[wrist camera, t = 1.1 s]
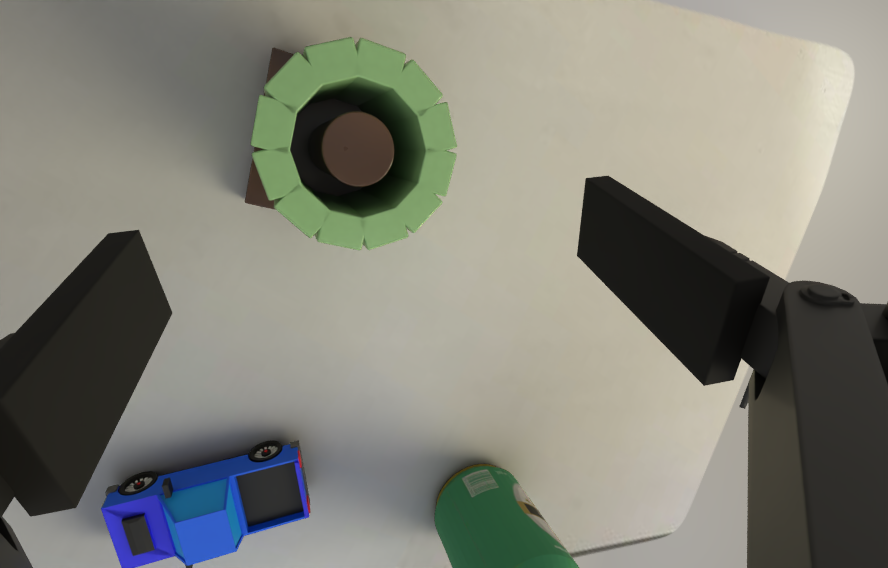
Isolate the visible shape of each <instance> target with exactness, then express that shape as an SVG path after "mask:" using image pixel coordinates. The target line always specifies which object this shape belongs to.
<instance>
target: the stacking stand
mask: <svg viewBox="0 0 888 568" xmlns="http://www.w3.org/2000/svg"><path fill="white" fill-rule="evenodd" d="M293 55H294V54H291V53H288V52H285V51H282V50H279V49H276V48H272V54H271V59H270V65H269V70H268V76H267V81H266V84H267V83H268V82H269V80H270V79H271V78H272V77H273V76H274V75H275V74H276V73H277V72H278V71H279V70H280V69H281V68H282V67H283V66H284V65H285V64H286V62H287V61H288V60H289V59H290V58H291V57H292V56H293ZM264 96H265V93H264ZM260 150H263V149H262V148H258V147H255V148H254V152H256V151H260ZM290 151H291V154H292V157H293V159H294V162H295V165H296V168H297V171H298V174H299V177H300V178H301V179H302V180H303V181H304V182H305V183H306V184H307V185H308V186H309V187H311V188H312V189H313V190H314V191H318V192H323V193H327V194H331V195H335V196H340V195H343V194H346V193H350V192H353V191H357V190H360V189H361V188H362V187H364V186H369V185H372V184H374V183H376V182H378V181H379V180H381V179H382V178H383V177H384V176H385V175H386V174H387V173H388V171H389V169H390V168H391V165H392V163H393V159H394V143H393V139H392V136H391V134H390V132H389V130H388V128H387V127H386V126H385V125H384V123H383V122H382V121H380V120H379V119H378V118H377V117H375V116H373V115H371V114H369V113H365V112H362V111H361V110H360V109H359V107H358V106H355V105H352V104H349V103H346V102H343V101H339V100H336V99H333V98H332V99H328V100H324V101H320V102H316V103H312V104H308V105H307V106H306V107H305V108H304V109H303V110H302V111H301V112H300V114H299V115H298V116H297V117H296V121H295V127H294V132H293V137H292V142H291V147H290ZM245 203H248V204H252V205H257V206H262V207H266V208H271V209H275V208H274V200H269V199H268V197H267V194H266V192H265V189H264V186H263V184H262V181H261V178H260V176H259V173H258V170H257V168H256V165H255V162H254V160H253V159H252V165H251V170H250V176H249V181H248V187H247V193H246V198H245ZM275 210H276V209H275Z"/></svg>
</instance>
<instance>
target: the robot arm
mask: <svg viewBox="0 0 888 568" xmlns="http://www.w3.org/2000/svg"><path fill="white" fill-rule="evenodd" d="M577 256H578V257H579V258H580V259H581V260H582V261H583V262H584V263H585V264H586V265H587V266H588V267H589V268H590V269H591V270H592V271H593V272H594V273H595V275H596V276H597V277H598V278H599V279H600V280H601V281H602V282H603V283H604V284H605V285H606V286H607V287H608V288H609V289H610V290H611V291H612V292H613V293H614V294H615V295H616V296H617V297H618V298H619V299H620V300H621V301H622V302H623V303H624V304H625V305H626V306H627V307H628V308H629V309H630V310H631V311H632V312H633V313H634V314H635V315H636V316H637V318H638V319H639V320H640V321H641V322H642V323H643V324H644V325H645V326H646V327H647V328H648V329H649V330H650V331H651V332H652V333H653V334H654V335H655V336H656V337H657V338H658V339H659V340H660V341H661V342H662V343H663V344H664V345H665V346H666V347H667V348H668V349H669V350H670V351H671V352H672V353H673V354H674V355H675V356H676V357H677V358H678V359H679V361H680V362H681V363H682V364H683V365H684V366H685V367H686V368H687V369H688V370H689V371H690V372H691V373H692V374H693V375H694V376H695V377H696V378H697V379H698V380H699V381H700V382H701V383H702V384H703V385H704V386H705V385H710V384H715V383H720V382H725V381H730V380H734V377H735V375H736V372H737V369H738V366H739V363H740V361H741V358H742V359H743V360H744V361H745V362H746V363H747V364H749V365H750V366H751V367H752V368H753V369H754V370H753V373H752V375H751V378H750V380H749V383H748V386H747V388H746V391H745V394H744V396H743V399H742V402H741V404H740V407H741V408H744V409H745V407H746V405H747V403H749V412H748V413H749V414H748V416H749V417H748V528H747V529H748V531H747V568H888V303H887V304H862V303H859V301H858V300H857V299H856V297H854V296H853V295H851V294H850V293H848V292H847V291H845V290H842V289H840V288H837V287H835V286H832V285H828V284H824V283H820V282H813V281H796V282H791V283H788V282H787V281H785V280H784V279H782V278H780V277H779V276H777V275H775V274H774V273H772V272H770V271H769V270H767V269H766V268H764V267H762V266H761V265H759V264H757V263H756V262H754V261H750V260H749V258H748V257H746V256H744V255H743V254H741V253H737V251H736V250H735V249H733V248H731V247H730V246H728V245H726V244H725V243H723V242H721V241H718V240H715V239H713V238H710V237H707V236H704V235H702V234H701V233H699V232H697V231H696V230H694V229H693V228H691V227H689V226H688V225H686V224H685V223H683V222H681V221H680V220H678V219H677V218H675V217H673V216H672V215H670V214H669V213H667V212H665V211H664V210H662V209H661V208H659V207H657V206H656V205H654V204H653V203H651V202H649V201H648V200H646V199H645V198H643V197H641V196H640V195H638V194H637V193H635V192H633V191H632V190H630V189H629V188H627V187H626V186H624V185H622V184H621V183H619V182H618V181H616V180H614V179H613V178H611V177H610V176H602V177H593V178H586V181H585V190H584V199H583V208H582V217H581V225H580V234H579V243H578V252H577ZM171 315H172V311H171V308H170V306H169V303H168V301H167V298H166V296H165V293H164V291H163V288H162V286H161V284H160V281H159V279H158V276H157V274H156V271H155V269H154V266H153V264H152V261H151V259H150V256H149V254H148V251H147V249H146V247H145V244H144V242H143V239H142V237H141V234H140V232H139V230H134V231H126V232H117V233H108V234H107V236H106V237H105V238H104V239H103V240H102V241H101V242H100V243H99V244H98V245H97V246H96V247H95V248H94V249H93V250H92V252H91V253H90V254H89V255H88V256H87V257H86V258H85V259H84V260H83V261H82V262H81V263H80V264H79V265H78V266H77V268H76V269H75V270H74V271H73V272H72V273H71V274H70V275H69V276H68V277H67V278H66V279H65V280H64V281H63V282H62V284H61V285H60V286H59V287H58V288H57V289H56V290H55V291H54V292H53V293H52V294H51V295H50V296H49V297H48V298H47V300H46V301H45V302H44V303H43V304H42V305H41V306H40V307H39V308H38V309H37V310H36V311H35V312H34V313H33V314H32V316H31V317H30V318H29V319H28V320H27V321H26V322H25V323H24V324H23V325H22V326H21V327H20V328H19V329H18V330H17V332H16V333H12V334H9V335H8V336H6V337H5V338H3V339H1V340H0V568H33V567H32V565H31V563H30V561H29V559H28V558H27V556H26V554H25V552H24V550H23V548H22V546H21V544H20V542H19V541H18V539H17V537H16V535H15V533H14V531H13V529H12V528H11V526H10V525H9V524H8V523H7V522H6V520H5V519H4V518H3V517H2V515H3V514H4V512H5V510H6V509H7V507H8V506H9V504H10V502H11V501H12V499H13V498H14V497H15V498H16V499H17V500H18V502H19V503H20V504H21V505H22V507H23V508H24V509H25V510H26V511H27V513H28V514H29V515H30V516H36V515H41V514H47V513H52V512H57V511H62V510H67V509H72V508H76V507H77V505H78V503H79V501H80V499H81V497H82V495H83V493H84V491H85V489H86V487H87V485H88V483H89V481H90V479H91V477H92V475H93V473H94V470H95V468H96V466H97V464H98V462H99V460H100V458H101V456H102V454H103V452H104V450H105V448H106V446H107V444H108V442H109V440H110V438H111V436H112V434H113V432H114V430H115V428H116V426H117V424H118V422H119V420H120V418H121V416H122V414H123V412H124V410H125V408H126V406H127V404H128V402H129V400H130V398H131V396H132V394H133V392H134V390H135V388H136V386H137V384H138V382H139V380H140V378H141V376H142V373H143V371H144V369H145V367H146V365H147V363H148V361H149V359H150V357H151V355H152V353H153V351H154V349H155V347H156V345H157V343H158V341H159V339H160V337H161V335H162V333H163V331H164V329H165V327H166V325H167V323H168V321H169V319H170V317H171Z"/></svg>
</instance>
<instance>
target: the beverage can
mask: <svg viewBox="0 0 888 568" xmlns="http://www.w3.org/2000/svg"><path fill="white" fill-rule="evenodd" d="M435 526H436V529H437V531H438V534H439V536H440V539H441V541H442V543H443V546H444V548H445V550H446V553H447V555H448V558H449V560H450V562H451V565H452V567H453V568H579V567H578V565H577V564H576V563H575V561H574V560H573V558H572V557H571V556H570V554H569V553H568V551H567V550H566V549H565V547H564V546H563V544H562V543H561V542H560V540H559V539H558V537H557V536H556V535H555V533H554V532H553V530H552V529H551V528H550V526H549V525H548V524H547V522H546V521H545V519H544V518H543V517H542V515H541V514H540V512H539V511H538V510H537V508H536V507H535V505H534V504H533V503H532V501H531V500H530V498H529V497H528V496H527V494H526V493H525V491H524V490H523V489H522V487H521V486H520V484H519V483H518V482H517V480H516V479H515V478H514V476H513V475H512V474H510V473H509V472H508V471H506V470H504V469H501V468H498V467H496V466H493V465H490V464H477V465H472V466H469V467H467V468H464V469H462V470H461V471H459V472H457V473H456V474H455V475H453V476H452V477H451V478H450V479H449V480H448V481H447V482H446V483H445V485H444V486H443V488H442V489H441V491H440V493H439V496H438V498H437V503H436V510H435Z"/></svg>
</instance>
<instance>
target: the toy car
mask: <svg viewBox="0 0 888 568" xmlns="http://www.w3.org/2000/svg"><path fill="white" fill-rule="evenodd" d="M249 456H250V459H249ZM250 460H251V461H250ZM105 493H106V496H107V498H106V499H105V501H104V503H103V505H102V508H101V510H102V513H103V516H104V519H105V521H106V524H107V527H108V530H109V533H110V536H111V539H112V541H113V544H114V547H115V550H116V553H117V556H118V558H119V561H120V564H121V567H122V568H135V567H138V566H142V565H145V564H149V563H152V562H156V561H159V560H163V559H166V558H170V557H173V556H176V557H177V558H178V559H179V560H181V561H182V562H183V563H184V564H185V566H186V568H192V566H193V564H195V563H199V562H202V561H205V560H209V559H212V558H216V557H219V556H222V555H226V554H229V553H232V552H236V551H237V549H238V547H239V545H240V543H241V541H242V539H243V537H244V536H245V535H249V534H252V533H256V532H259V531H263V530H266V529H270V528H273V527H277V526H280V525H283V524H287V523H290V522H294V521H297V520H301V519H304V518H308V517H309V513H310V499H309V493H308V488H307V483H306V478H305V472H304V467H303V462H302V456H301V451H300V446H299V441H294V442H290V444H288V445H284V446H283V449H282V446H281V443H279V442H277V441H267V442H263V443H261V444H259V445H257V446H255V447H254V448H253V449H252V450H251V451H250V454H248V455H243V456H239V457H235V458H231V459H227V460H223V461H219V462H215V463H211V464H207V465H203V466H199V467H194V468H190V469H186V470H182V471H178V472H174V473H170V474H166V475H162V476H158V477H157V474H156V473H155V472H143V473H139V474H137V475H134V476H132V477H130V478H129V479H127V480H126V481H125V482H124V483H123V484H122V485H121V486H119V485H114V486H110V487H108V488H107V490H106V492H105Z"/></svg>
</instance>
